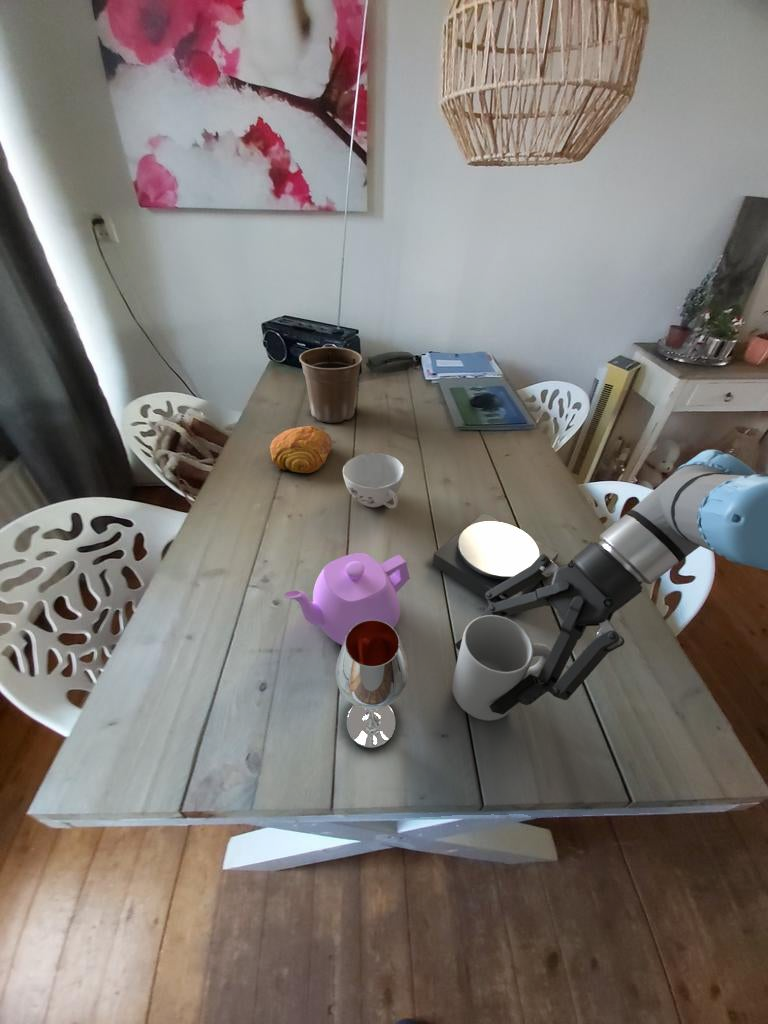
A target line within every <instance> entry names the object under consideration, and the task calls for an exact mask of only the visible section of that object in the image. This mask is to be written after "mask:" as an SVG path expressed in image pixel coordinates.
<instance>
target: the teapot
mask: <svg viewBox="0 0 768 1024" xmlns="http://www.w3.org/2000/svg"><path fill="white" fill-rule="evenodd" d="M410 579H411V577H410V573H409V569H408V565H407V561H406V560H405V559H404V558H403V557H402V556H401V555H400V553H398V554H397V555H394V556H393V557H391V558H389V559H387V560H385V561H383V562H381V563H379V562H378V561H376V559H375V558H373V557H372V556H370V555H369V554H367V553H363V552H355V553H349V554H347V555H344V556H341V557H339V558H336V559H333V560H332V561H331V562H328V563H327V564H326V565H325V566H324V567H323V568H322V570H321V571H320V573H319V575H318V577H317V579H316V581H315V584H314V586H313V587H314V588H313V591H312V602H311V601H310V598H309V595H308V594H307V593H306V592H304V591H301V590H290V591H287V592H285V593H284V595H283V597H285V598H286V599H290V600H294V601H297V602H298V604H299V606H300V610H301V613H302V616H303V617H304V618H305V620H306V621H307V622H308V623H310V624H311V625H314V626H318V627H320V629H321V630H322V631H323V633H324V634H326V636H328V637H329V638H330V639H331V640H332V641H334V642H335V643H336V644H338V645H341V646H342V645H343V643H344V641H345V638H346V636H347V634H348V632H349V631H350V629H351V628H352V627H354V626H355V625H356V624H358V623H360V622H363V621H366V620H378V621H382V622H385V623H387V624H389V625H390V626H391V627H392V628H393V629H395V627H396V625H397V624H398V623H399V620H400V613H401V609H400V601H399V597H398V594H397V593H398V592H399V591H400V589H402V587H404V586H405V584H406V583H407V582H408V581H409V580H410Z"/></svg>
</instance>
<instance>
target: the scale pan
mask: <svg viewBox="0 0 768 1024" xmlns="http://www.w3.org/2000/svg"><path fill="white" fill-rule="evenodd" d="M466 527H467V526H466ZM466 527H465V528H466ZM465 528H464V529H465ZM534 540H535V539H534ZM534 540H533V538H532V536H530V535H529V534H528V533H526V532H525V531H524V530H523V529H521V528H519V527H517V526H514V525H512V524H509V523H505V522H502V521H500V522H495V521H485V522H479V523H475V524H473V525H471V526H469V527H467V528H466V529H465V530H464V531H463V532H462V533H461V535H460V537H459V541H458V550H459V553H460V555H461V557H462V559H463V560H464V562H465V563H466V564H467V565H468V566H470V567H471V568H472V569H473V570H475V571H477V572H478V573H480V574H483V575H485V576H488V577H491V578H495V579H501V580H508V579H509V578H511V577H513V576H514V575H516V574H518V573H519V572H521V571H523V570H525V569H526V568H528V567H530V566H531V565H532V564H533V563H534V562H535V561H536V559H537V558H538V557H539V550H538V547H537V545H536V543H535V542H534Z"/></svg>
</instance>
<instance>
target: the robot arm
mask: <svg viewBox="0 0 768 1024" xmlns="http://www.w3.org/2000/svg"><path fill="white" fill-rule="evenodd" d="M599 540H600V541H599V543H598V542H596V541H594V542H592V541H591V542H590V543H589V544H588V545H586V546H585V547H584V548H583V549H582V550H580V551H579V552H578V553H577V554H576V555H574V557H572V559H571V560H570V561H569V562H568V563H566V564H565V565H561V566H558V565H557V564H556V562H555V563H554V562H553V561H552V560H551V559H550V558H549V557H548V556H546V555H545V554H542V555H540V556H539V557H538V558H537V559H536V561H535V562H534V563H533V564H532V565H531V566H530V567H528V568H526V569H525V570H523V571H521V572H519V573H518V574H516V575H514V576H513V577H511V578H509V579H508V580H506V581H504V582H503V583H501V584H499V585H497V586H496V587H494V588H492V589H491V590H489V591H487V592H486V594H485V597H486V599H487V600H488V601H487V600H486V601H487V603H488V607H487V609H486V610H485V611H484V612H483V613H481V614H480V615H479V616H478V617H481V616H487V615H496V616H501V617H505V618H506V617H507V616H511V615H515V614H519V613H523V612H526V611H530V610H534V609H538V608H541V607H550V606H551V607H552V608H553V609H555V610H556V612H557V614H558V616H559V618H561V620H562V623H561V625H560V632H559V633H558V635H557V637H556V640H555V641H554V643H553V645H552V648H551V649H550V651H551V652H550V654H549V656H548V658H547V660H546V662H545V664H544V666H543V668H542V670H541V672H540V674H539V676H538V677H536V676H534V675H531V674H530V675H529V676H527V677H526V678H525V679H523V680H522V681H521V682H520V683H518V684H517V685H516V686H514V687H513V688H512V689H511V690H509V691H508V692H507V693H505V694H504V695H503V696H502V697H500V698H499V699H498V700H496V701H495V702H494V703H493V704H491V705H490V706H489V707H490V709H491V711H492V712H494V713H498V714H502V715H503V714H505V713H506V712H507V711H508V710H510V709H511V708H512V707H513V708H514V707H515V706H516V705H518V704H519V703H520V704H521V705H523V706H530V705H532V704H533V703H534V702H536V701H537V700H538V699H539V698H541V697H542V696H543V695H545V694H546V693H550V694H551V695H552V696H553V697H555V698H558V699H560V700H563V701H567V700H569V699H570V698H571V696H572V695H573V694H574V693H575V692H576V691H577V690H578V688H579V687H580V686H581V685H582V684H583V683H584V682H585V680H586V679H587V678H588V677H589V676H590V675H591V673H592V672H593V671H594V670H595V669H596V668H597V667H598V665H599V664H600V663H601V662H602V661H603V659H604V658H605V657H606V656H607V655H608V654H609V653H611V652H613V651H615V650H616V649H619V648H620V647H622V646H623V645H624V644H625V639H624V637H623V636H622V635H621V634H619V633H618V632H617V630H616V629H615V627H614V626H613V625H612V622H611V619H612V617H613V615H614V614H615V613H616V612H617V611H618V610H620V609H621V608H622V607H624V606H626V605H627V604H628V603H630V601H631V600H633V599H634V598H635V597H637V596H638V595H639V594H641V593H642V592H643V586H642V584H643V583H645V584H647V585H652V584H653V583H655V582H656V581H657V580H658V579H660V578H661V577H662V576H664V575H665V574H666V573H668V572H669V571H670V570H671V569H673V568H674V567H675V566H676V565H678V564H679V563H681V562H682V561H684V560H685V558H686V557H687V556H689V555H690V554H692V553H694V551H696V550H698V548H700V547H701V548H704V549H706V550H709V551H710V552H713V553H715V554H717V555H718V556H720V557H724V558H725V559H726V560H727V561H728V562H732V563H734V564H737V565H744V566H749V567H752V568H755V569H758V570H764V571H768V474H757V473H756V472H755V471H754V469H752V468H751V467H750V466H748V465H747V464H746V463H745V462H743V460H741V459H739V458H737V457H736V456H734V455H732V454H730V453H725V452H723V451H721V450H718V449H705V450H703V451H701V452H700V453H698V454H697V455H696V456H694V457H693V458H692V459H690V460H688V461H687V462H686V463H683V464H682V465H679V466H678V467H677V468H676V470H674V472H673V473H672V474H671V475H670V476H669V477H667V479H665V480H664V481H663V482H661V484H659V485H658V486H657V487H655V489H653V490H652V491H651V492H650V493H649V494H648V495H646V496H645V497H644V498H643V499H642V500H641V501H639V502H638V503H637V504H635V506H634V507H632V508H631V509H630V510H629V511H627V512H626V513H625V514H624V515H623V516H622V517H621V518H619V519H617V521H615V522H614V523H613V524H611V525H610V526H609V527H608V528H607V529H605V530H604V531H603V532H602V533H600V534H599ZM551 576H552V578H551V580H550V581H551V582H550V585H545V586H543V587H540V588H536V589H535V590H534V591H531V592H530V593H528V594H524V595H521V596H517V597H514V598H510V597H512V596H514V595H516V594H517V593H519V592H521V591H523V590H524V589H526V588H528V587H530V586H531V585H533V584H535V583H537V582H538V581H540V582H541V580H543V579H544V578H548V577H551ZM509 598H510V599H509ZM596 626H599V629H598V630H597V631H596V633H595V638H593V640H592V641H590V643H589V644H587V646H586V647H585V648H584V650H582V652H581V653H580V654H579V656H578V657H576V658H575V660H574V661H573V662H572V664H571V665H570V666H569V667H568V668H567V669H566V671H565V672H564V673H563V671H564V669H565V667H566V666H567V664H568V661H569V659H570V657H571V655H572V654H573V651H574V649H575V647H576V645H577V642H578V641H579V640H580V639H581V638H582V637H583V635H584V633H585V631H586V628H587V627H596ZM461 642H462V638H460V639H459V640H457V642H455V643H454V647H455V648H456V649H457V650H459V651H460V647H461ZM562 673H563V674H562ZM513 708H512V709H513Z"/></svg>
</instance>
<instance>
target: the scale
mask: <svg viewBox="0 0 768 1024" xmlns="http://www.w3.org/2000/svg"><path fill="white" fill-rule="evenodd" d="M485 521H495V522H501V521H500V520H498V519H496V518H494V517H492V516H491V515H488V514H487V513H484V512H483V513H482V514H480V515H479V516H478V517H477V518H476V519H474V520H473V521H471V523H470V524H468V525H467V526H466V527H464V528H463V529H462V530H461V531H460V532H458V533H457V534H456V535H455V536H454V537H452V538H451V539H450V540H448V541H447V542H446V543H445V544H443V545H442V546H441V547H440V548H438V549H437V550H436V551H435V552H434V553H433V557H432V567H434V568H436V569H438V570H439V571H440V572H442V573H444V574H445V575H447V576H448V577H450V578H451V579H453V580H454V581H456V582H458V583H459V584H461V585H462V586H463V587H465V588H467V589H468V590H469V591H471V592H473V593H475V594H476V595H477V596H479V597H481V598H482V599H484V600H485V601H487V602H488V600H487V599H486V597H485V594H486V592H487V591H489V590H491V589H492V588H494V587H496V586H497V585H499V584H501V583H503V582H504V581H506V580H501V579H495V578H491V577H488V576H485V575H483V574H480V573H478V572H477V571H475V570H473V569H472V568H471V567H470V566H468V565H467V564H466V563H465V562H464V560H463V559H462V557H461V555H460V553H459V550H458V541H459V537H460V535H461V533H462V532H463V531H464V530H465V529H466V528H467V527H469V526H471V525H473V524H475V523H479V522H485ZM532 539H533V538H532ZM533 540H534V542H535V543H536V545H537V547H538V550H539V556H540V555H542V554H545V555H546V556H548V557H549V558H550V559H551V560H552V561H553V562H554V563H555V564H556V563H557V559H558V557H559V555H560V553H559V551H556V550H554V549H552V548H551V547H549V546H547V545H545V544H543V543H542V542H539V541H537V540H535V539H533ZM540 582H541V580H540V581H538V582H537V583H535V584H533V585H531V586H530V587H528V588H526V589H524V590H523V591H521V592H519V593H517V594H516V595H514V596H512V597H510V598H514V597H517V596H521V595H524V594H528V593H531V592H532V591H533V589H534V588H535V587H536V586H538V584H539V583H540ZM510 598H509V599H510Z"/></svg>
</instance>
